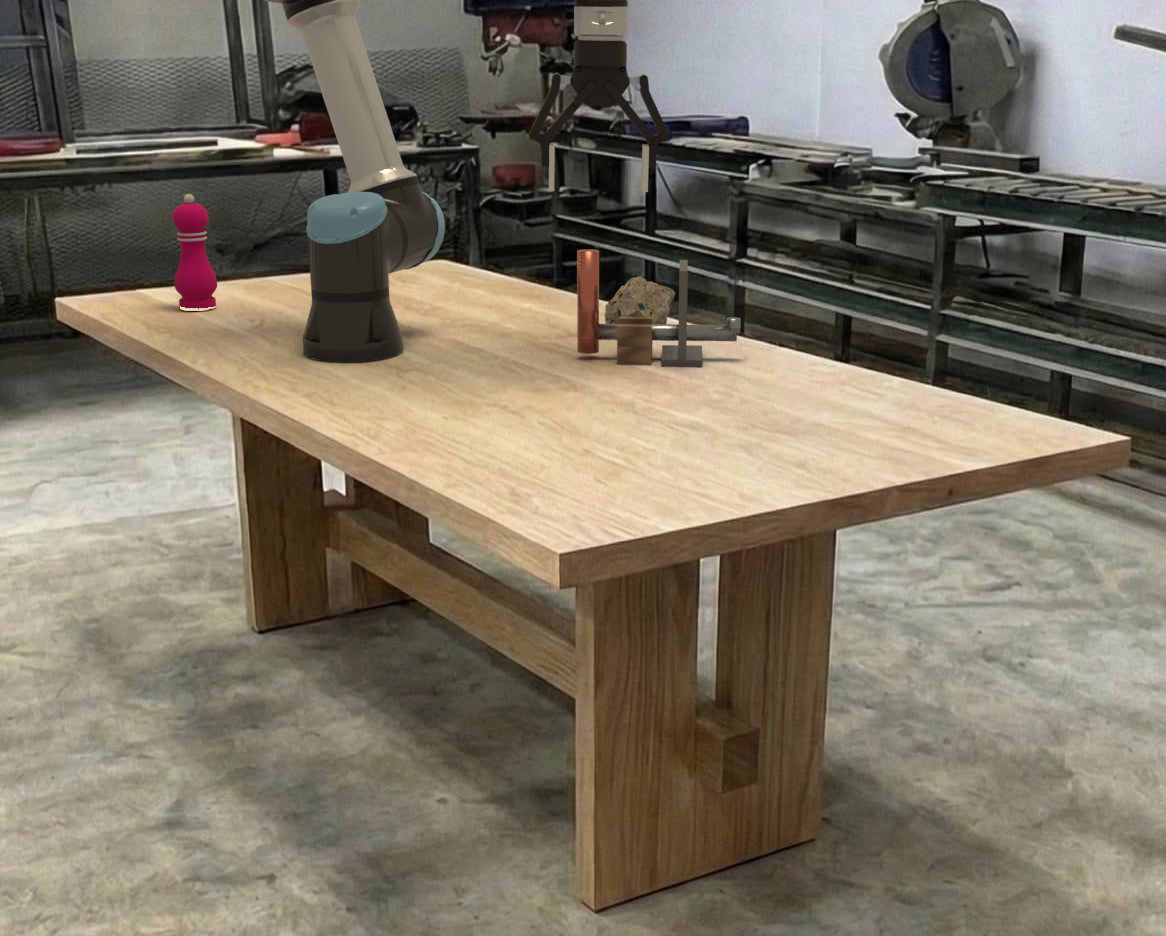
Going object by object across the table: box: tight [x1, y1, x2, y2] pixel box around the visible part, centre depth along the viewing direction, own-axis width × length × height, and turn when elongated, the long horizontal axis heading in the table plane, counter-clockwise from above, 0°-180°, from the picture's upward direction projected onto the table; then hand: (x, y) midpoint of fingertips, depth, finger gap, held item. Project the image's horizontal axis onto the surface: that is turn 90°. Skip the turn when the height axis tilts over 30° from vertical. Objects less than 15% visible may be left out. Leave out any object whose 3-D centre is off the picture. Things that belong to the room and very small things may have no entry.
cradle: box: [616, 316, 653, 366], centre depth 214 cm, size 5×8×6 cm, turn 176°
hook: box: [576, 248, 741, 355], centre depth 212 cm, size 24×3×15 cm, turn 86°
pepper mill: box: [172, 193, 218, 309], centre depth 250 cm, size 7×7×20 cm
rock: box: [604, 276, 676, 324], centre depth 233 cm, size 12×7×10 cm, turn 120°
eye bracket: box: [660, 259, 704, 368], centre depth 212 cm, size 6×10×14 cm, turn 176°
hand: (598, 190), depth 210 cm, fingers open, 13 cm apart
